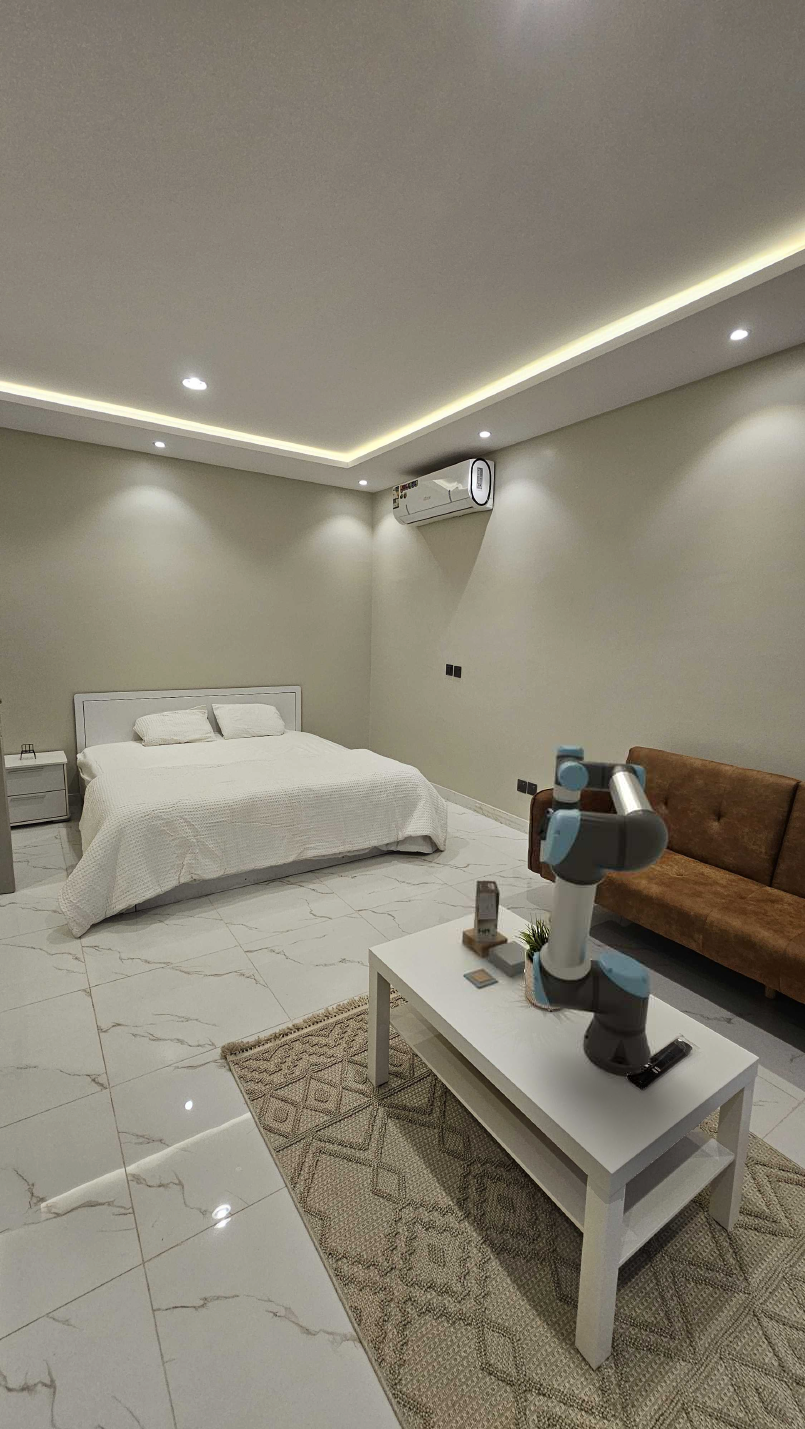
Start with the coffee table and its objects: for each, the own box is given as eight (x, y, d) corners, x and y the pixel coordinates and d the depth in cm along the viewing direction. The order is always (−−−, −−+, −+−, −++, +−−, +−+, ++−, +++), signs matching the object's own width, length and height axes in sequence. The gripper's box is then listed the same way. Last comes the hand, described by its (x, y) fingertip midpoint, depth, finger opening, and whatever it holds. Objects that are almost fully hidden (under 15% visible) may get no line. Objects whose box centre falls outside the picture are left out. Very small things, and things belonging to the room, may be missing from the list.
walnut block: (506, 950, 188) (507, 938, 188) (481, 958, 183) (482, 946, 183) (486, 935, 197) (487, 924, 196) (462, 942, 192) (462, 931, 191)
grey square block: (535, 969, 179) (537, 956, 178) (510, 977, 174) (511, 964, 173) (513, 952, 187) (514, 940, 187) (488, 960, 182) (489, 948, 182)
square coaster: (498, 981, 171) (498, 979, 171) (478, 988, 168) (478, 986, 168) (482, 969, 177) (482, 967, 177) (463, 975, 174) (463, 973, 174)
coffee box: (497, 942, 185) (500, 893, 183) (476, 941, 185) (479, 892, 183) (492, 927, 194) (496, 880, 192) (472, 927, 194) (475, 879, 192)
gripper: (610, 809, 165) (603, 882, 168) (544, 786, 186) (539, 852, 189) (591, 812, 161) (584, 887, 164) (526, 789, 182) (521, 856, 185)
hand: (560, 868), depth 177 cm, fingers open, 13 cm apart
